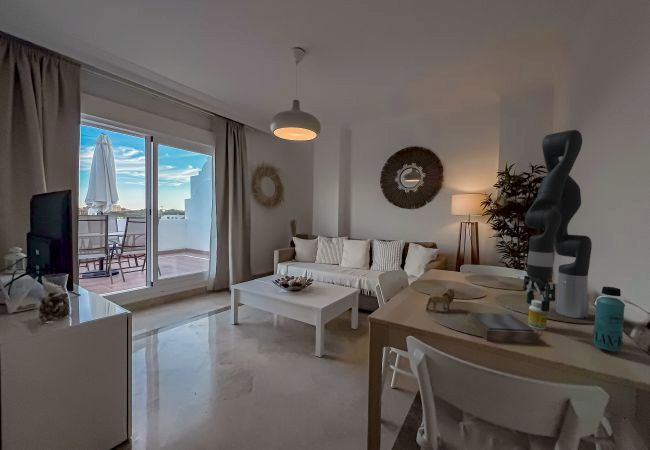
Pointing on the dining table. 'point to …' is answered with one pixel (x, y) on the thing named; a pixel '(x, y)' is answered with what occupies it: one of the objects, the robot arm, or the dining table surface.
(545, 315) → the supplement bottle
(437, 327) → the dining table surface
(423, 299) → the dining table surface
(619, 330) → the beverage bottle
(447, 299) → the lion figurine
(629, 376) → the dining table surface
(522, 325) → the wooden framed mirror
